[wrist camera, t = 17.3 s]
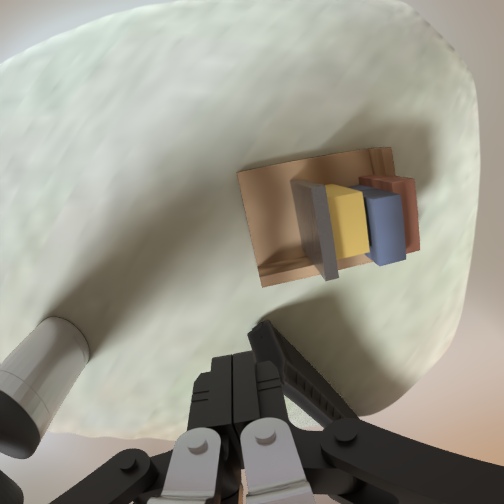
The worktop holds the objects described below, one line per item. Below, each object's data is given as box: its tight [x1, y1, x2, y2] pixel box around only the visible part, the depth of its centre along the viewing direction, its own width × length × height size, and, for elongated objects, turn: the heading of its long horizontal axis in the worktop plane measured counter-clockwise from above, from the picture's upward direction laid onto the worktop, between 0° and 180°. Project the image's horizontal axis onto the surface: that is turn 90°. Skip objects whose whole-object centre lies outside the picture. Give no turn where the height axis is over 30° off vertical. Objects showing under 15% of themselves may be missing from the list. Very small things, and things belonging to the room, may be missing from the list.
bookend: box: [290, 179, 339, 281], centre depth 31 cm, size 1×8×10 cm, turn 12°
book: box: [325, 184, 370, 260], centre depth 31 cm, size 4×6×9 cm, turn 12°
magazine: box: [248, 320, 359, 428], centre depth 39 cm, size 17×3×30 cm
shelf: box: [237, 147, 420, 288], centre depth 32 cm, size 17×12×12 cm
